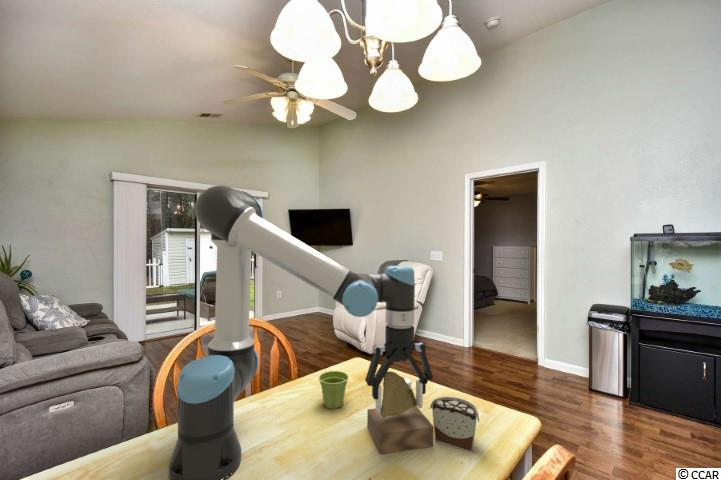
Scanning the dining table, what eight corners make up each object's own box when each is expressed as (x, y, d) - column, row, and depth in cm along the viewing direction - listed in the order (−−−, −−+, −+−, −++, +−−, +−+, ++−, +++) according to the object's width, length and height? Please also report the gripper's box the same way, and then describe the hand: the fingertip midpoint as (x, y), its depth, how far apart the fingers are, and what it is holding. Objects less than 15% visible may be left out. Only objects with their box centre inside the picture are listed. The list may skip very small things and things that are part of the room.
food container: (483, 441, 89) (484, 403, 89) (478, 454, 84) (478, 413, 84) (437, 427, 95) (437, 391, 95) (429, 439, 90) (429, 401, 90)
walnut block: (380, 454, 84) (380, 433, 84) (367, 427, 95) (367, 409, 95) (433, 446, 87) (433, 426, 87) (414, 421, 99) (414, 403, 99)
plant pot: (345, 413, 103) (345, 384, 103) (314, 410, 104) (314, 381, 104) (351, 398, 112) (351, 371, 112) (322, 396, 114) (323, 369, 114)
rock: (416, 390, 97) (381, 384, 98) (422, 374, 92) (385, 367, 93) (416, 430, 89) (377, 423, 90) (422, 415, 84) (381, 407, 84)
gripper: (360, 331, 84) (359, 420, 85) (446, 326, 90) (445, 410, 90) (353, 323, 92) (353, 406, 92) (434, 319, 97) (433, 397, 97)
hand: (399, 408), depth 91 cm, fingers closed on rock, 11 cm apart
